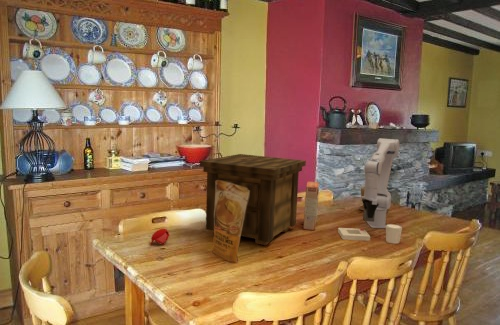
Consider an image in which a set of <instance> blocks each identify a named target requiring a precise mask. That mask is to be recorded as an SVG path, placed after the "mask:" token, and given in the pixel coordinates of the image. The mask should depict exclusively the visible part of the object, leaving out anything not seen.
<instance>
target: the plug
mask: <svg viewBox="0 0 500 325" xmlns="http://www.w3.org/2000/svg"><path fill="white" fill-rule="evenodd" d="M362 217H363V218H362V219H363V221H364V222H374V217H375V213H374V216H373V218H368V215H367V209H364V210H363V215H362Z"/></svg>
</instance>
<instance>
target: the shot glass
mask: <svg viewBox="0 0 500 325" xmlns="http://www.w3.org/2000/svg"><path fill="white" fill-rule="evenodd" d="M385 225H386V228H385V241H386V242H387V243H389V244H396V245H397V244H400V240H401V235H402V231H403V226H401V225H399V224H393V223H392V224H391V223H389V224H388V223H387V224H385Z"/></svg>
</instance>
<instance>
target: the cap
mask: <svg viewBox="0 0 500 325" xmlns="http://www.w3.org/2000/svg"><path fill="white" fill-rule="evenodd" d="M169 237H170V232H169V230H168V229H167V228H160V229H158V230H157V231H155V232H154V233H153V234H152V236H151V237H150V238H151V241H150V245H152V244H153V243H154V242H156V243H158V244H161V245H162V246H165V245H166V242H167V241H168V238H169Z"/></svg>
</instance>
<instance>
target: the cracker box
mask: <svg viewBox="0 0 500 325" xmlns="http://www.w3.org/2000/svg"><path fill="white" fill-rule="evenodd" d="M319 189H320V182H319V181H307V183H306V188H305V199H304V200H305V201H304V213H303V216H304V217H303V227H302V228H303V230H307V231H316V226H317V218H318V207H319V206H318V205H319V194H320V190H319Z"/></svg>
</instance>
